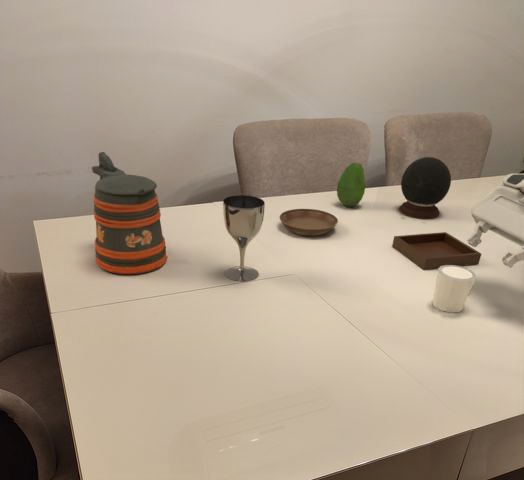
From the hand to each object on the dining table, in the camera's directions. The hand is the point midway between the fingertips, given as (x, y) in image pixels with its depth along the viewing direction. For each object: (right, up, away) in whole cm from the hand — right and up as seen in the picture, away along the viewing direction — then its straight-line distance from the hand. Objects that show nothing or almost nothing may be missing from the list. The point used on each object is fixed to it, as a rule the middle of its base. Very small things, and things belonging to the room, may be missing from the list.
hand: (487, 253), depth 93 cm
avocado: (-17, +24, +52) cm, 60 cm away
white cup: (-6, -9, +4) cm, 12 cm away
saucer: (-30, +13, +35) cm, 48 cm away
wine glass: (-46, -2, +11) cm, 48 cm away
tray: (-2, +4, +24) cm, 25 cm away
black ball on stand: (+3, +21, +50) cm, 54 cm away
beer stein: (-71, +2, +15) cm, 73 cm away
